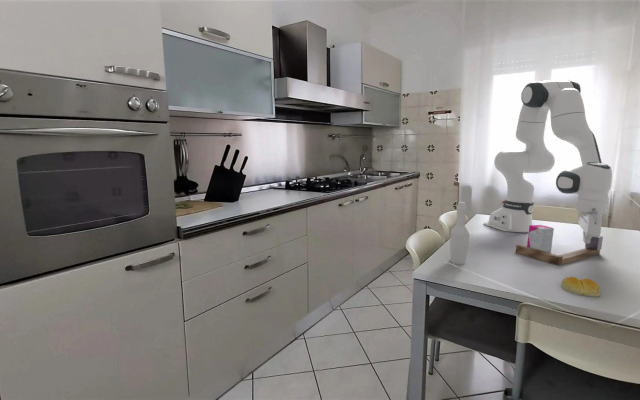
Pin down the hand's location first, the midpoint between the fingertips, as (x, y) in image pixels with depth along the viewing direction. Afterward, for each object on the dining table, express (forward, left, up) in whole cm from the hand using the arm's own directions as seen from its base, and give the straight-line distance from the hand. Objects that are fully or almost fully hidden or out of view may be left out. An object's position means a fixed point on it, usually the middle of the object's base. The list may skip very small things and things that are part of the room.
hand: (586, 242), depth 127 cm
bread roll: (+16, -36, -6) cm, 40 cm away
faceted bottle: (-17, -49, -6) cm, 52 cm away
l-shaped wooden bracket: (-6, -7, -5) cm, 10 cm away
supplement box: (-8, -15, -6) cm, 18 cm away
